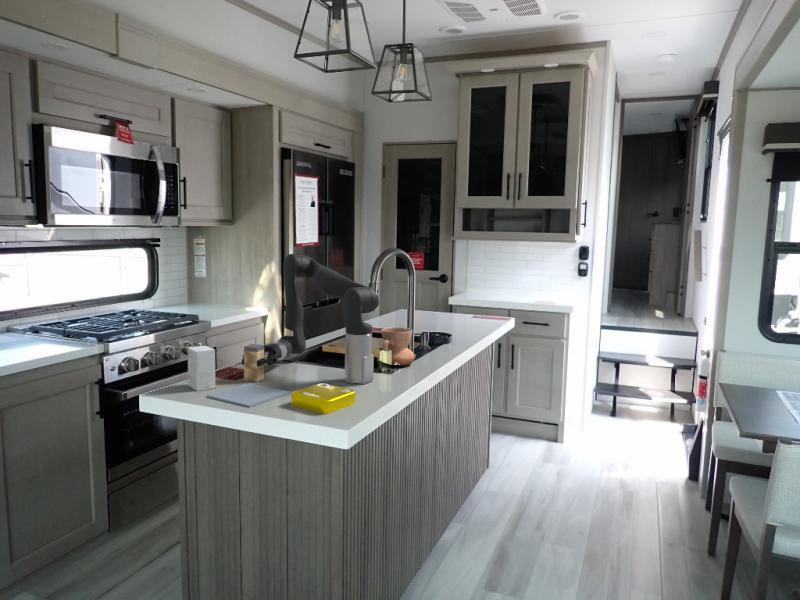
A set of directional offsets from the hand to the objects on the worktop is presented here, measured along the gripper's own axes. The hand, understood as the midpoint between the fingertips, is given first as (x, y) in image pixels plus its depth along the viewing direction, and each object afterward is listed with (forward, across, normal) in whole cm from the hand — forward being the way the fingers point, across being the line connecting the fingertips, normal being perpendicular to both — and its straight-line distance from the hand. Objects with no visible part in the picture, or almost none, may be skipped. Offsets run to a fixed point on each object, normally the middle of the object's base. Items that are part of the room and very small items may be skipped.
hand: (250, 362), depth 203 cm
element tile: (+15, +33, +7) cm, 37 cm away
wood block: (-3, 0, +6) cm, 7 cm away
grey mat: (+15, +8, +6) cm, 18 cm away
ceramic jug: (-44, +40, +7) cm, 60 cm away
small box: (+12, -11, +7) cm, 18 cm away
